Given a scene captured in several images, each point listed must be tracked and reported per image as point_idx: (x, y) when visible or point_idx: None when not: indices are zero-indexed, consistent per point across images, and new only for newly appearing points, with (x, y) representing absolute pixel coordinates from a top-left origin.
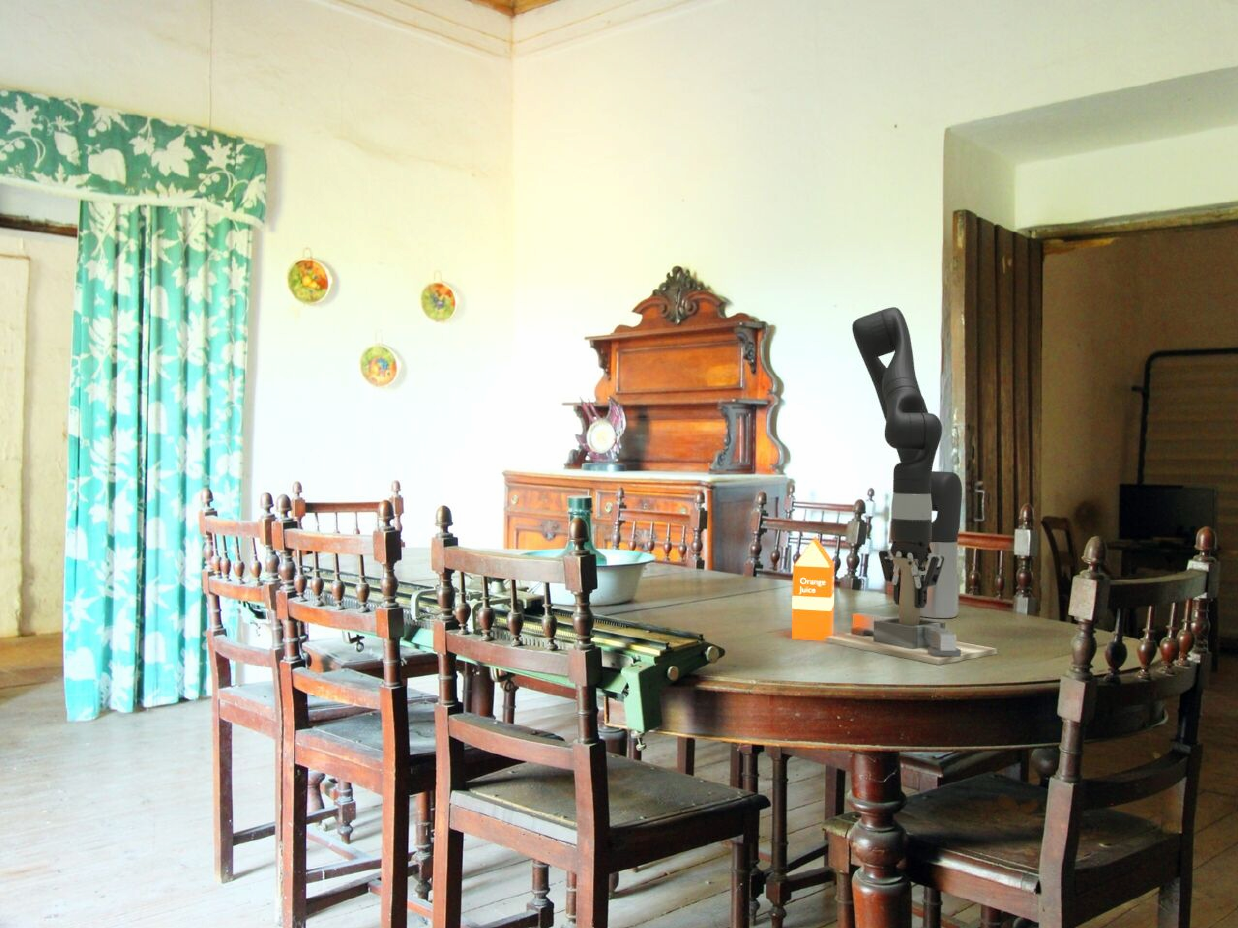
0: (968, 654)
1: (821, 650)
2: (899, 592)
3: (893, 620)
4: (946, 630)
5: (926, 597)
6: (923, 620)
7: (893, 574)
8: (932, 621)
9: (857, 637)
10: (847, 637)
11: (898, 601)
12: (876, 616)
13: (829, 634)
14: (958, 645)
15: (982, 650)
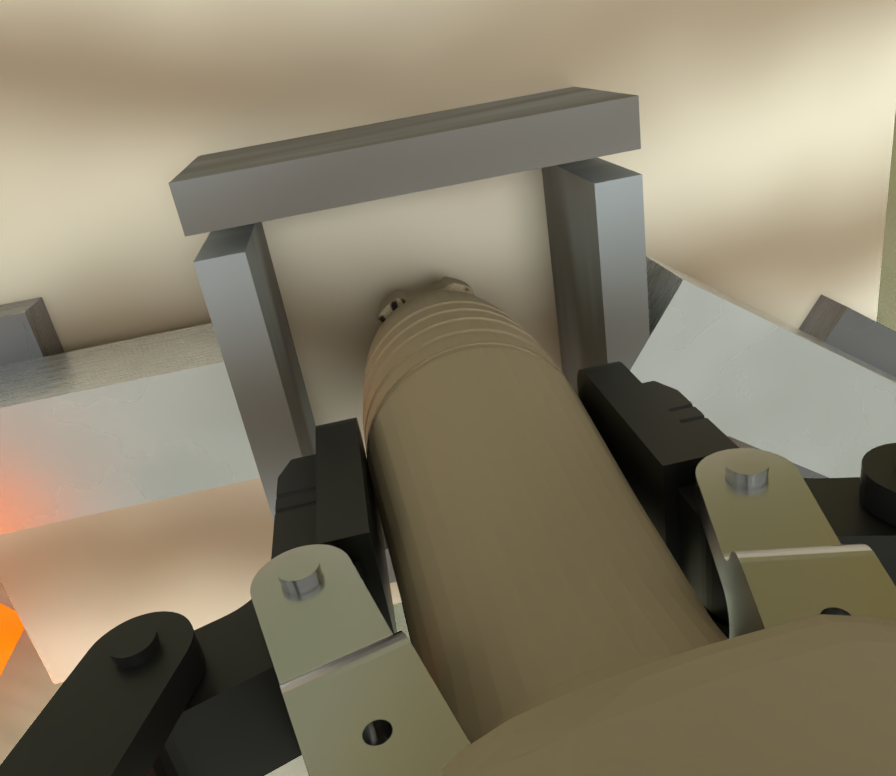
0: (881, 221)
1: (289, 772)
2: (388, 580)
3: (292, 418)
4: (862, 372)
5: (702, 423)
6: (433, 188)
7: (175, 736)
8: (528, 160)
9: (131, 523)
10: (113, 580)
11: (380, 528)
12: (100, 465)
13: (10, 650)
14: (675, 38)
15: (887, 25)
